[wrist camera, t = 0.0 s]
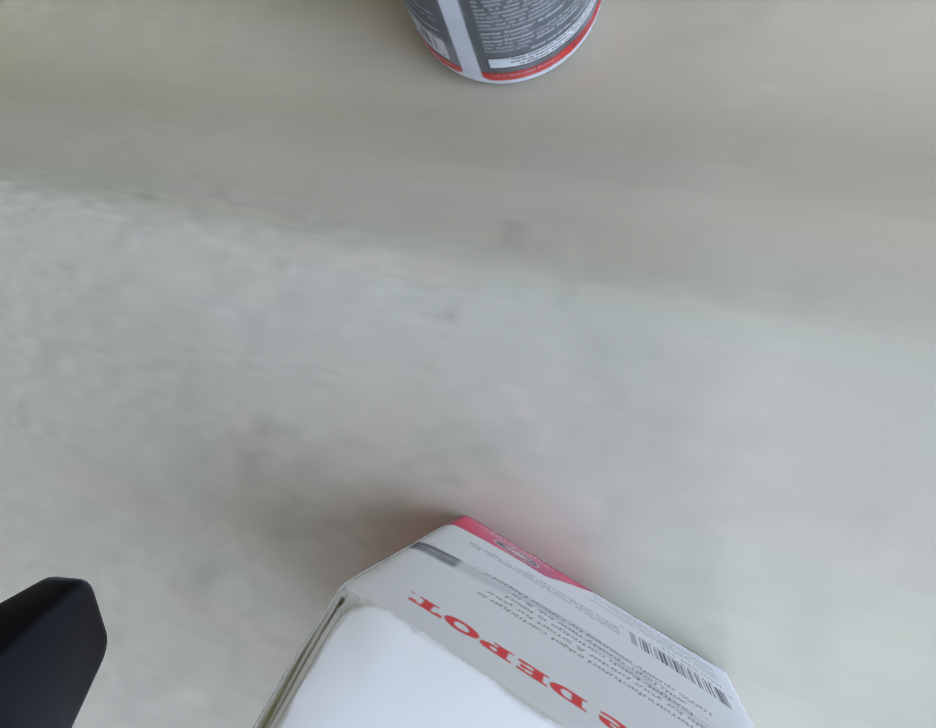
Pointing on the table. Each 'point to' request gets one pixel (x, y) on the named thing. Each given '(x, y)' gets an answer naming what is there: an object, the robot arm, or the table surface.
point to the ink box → (490, 650)
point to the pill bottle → (503, 35)
